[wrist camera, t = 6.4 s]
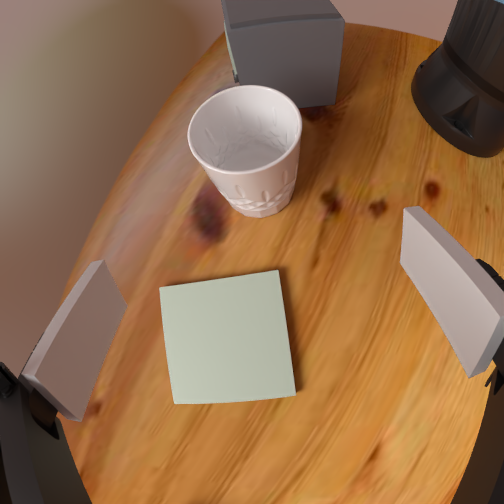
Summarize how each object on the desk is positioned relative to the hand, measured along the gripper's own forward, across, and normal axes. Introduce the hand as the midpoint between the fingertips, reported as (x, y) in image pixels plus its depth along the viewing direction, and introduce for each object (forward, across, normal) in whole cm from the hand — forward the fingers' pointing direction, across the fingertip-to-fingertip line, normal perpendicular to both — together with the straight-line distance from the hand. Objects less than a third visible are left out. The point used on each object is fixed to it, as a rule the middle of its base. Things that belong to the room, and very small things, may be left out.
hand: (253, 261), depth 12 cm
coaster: (+8, -5, -13) cm, 15 cm away
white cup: (+18, 0, -3) cm, 18 cm away
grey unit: (+27, +5, +6) cm, 28 cm away
